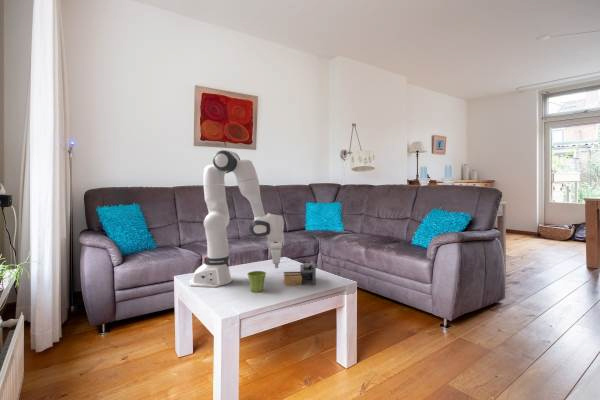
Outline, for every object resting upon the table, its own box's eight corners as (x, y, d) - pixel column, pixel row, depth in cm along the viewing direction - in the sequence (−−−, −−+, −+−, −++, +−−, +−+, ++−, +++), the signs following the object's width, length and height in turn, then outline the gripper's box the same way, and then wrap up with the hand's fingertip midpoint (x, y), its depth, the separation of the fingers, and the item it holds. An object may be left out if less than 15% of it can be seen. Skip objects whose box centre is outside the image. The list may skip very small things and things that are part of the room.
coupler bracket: (301, 285, 170) (301, 267, 169) (300, 278, 182) (300, 261, 182) (315, 285, 171) (315, 266, 170) (313, 278, 183) (313, 260, 182)
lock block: (284, 285, 171) (284, 275, 170) (283, 280, 179) (283, 271, 178) (301, 285, 172) (301, 275, 171) (300, 280, 180) (300, 270, 179)
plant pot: (248, 287, 167) (248, 271, 167) (266, 286, 168) (266, 270, 168) (247, 293, 158) (246, 276, 157) (266, 293, 159) (266, 275, 158)
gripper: (270, 238, 183) (271, 262, 184) (269, 246, 163) (270, 273, 164) (281, 238, 184) (282, 262, 185) (282, 245, 163) (282, 272, 164)
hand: (276, 267), depth 174 cm, fingers closed
